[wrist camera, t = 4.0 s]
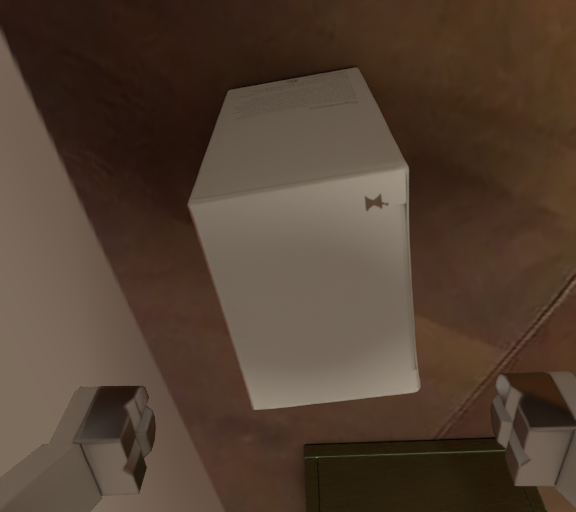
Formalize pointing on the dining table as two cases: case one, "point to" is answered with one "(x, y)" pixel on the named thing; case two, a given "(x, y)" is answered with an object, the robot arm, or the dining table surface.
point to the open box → (414, 478)
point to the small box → (309, 241)
